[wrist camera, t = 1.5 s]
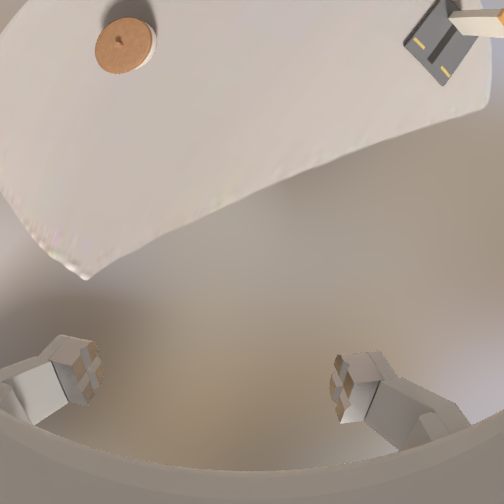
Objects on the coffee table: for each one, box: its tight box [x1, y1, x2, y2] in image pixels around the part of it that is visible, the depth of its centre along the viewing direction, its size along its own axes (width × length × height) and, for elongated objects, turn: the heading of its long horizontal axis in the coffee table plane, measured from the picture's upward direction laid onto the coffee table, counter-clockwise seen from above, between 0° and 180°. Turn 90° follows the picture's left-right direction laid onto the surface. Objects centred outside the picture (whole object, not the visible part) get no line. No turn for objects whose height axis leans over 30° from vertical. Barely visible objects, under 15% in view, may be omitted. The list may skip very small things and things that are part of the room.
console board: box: [404, 0, 478, 86], centre depth 34 cm, size 20×12×1 cm, turn 149°
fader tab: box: [448, 9, 504, 38], centre depth 24 cm, size 3×5×17 cm, turn 59°
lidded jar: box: [95, 17, 157, 74], centre depth 36 cm, size 11×11×9 cm
